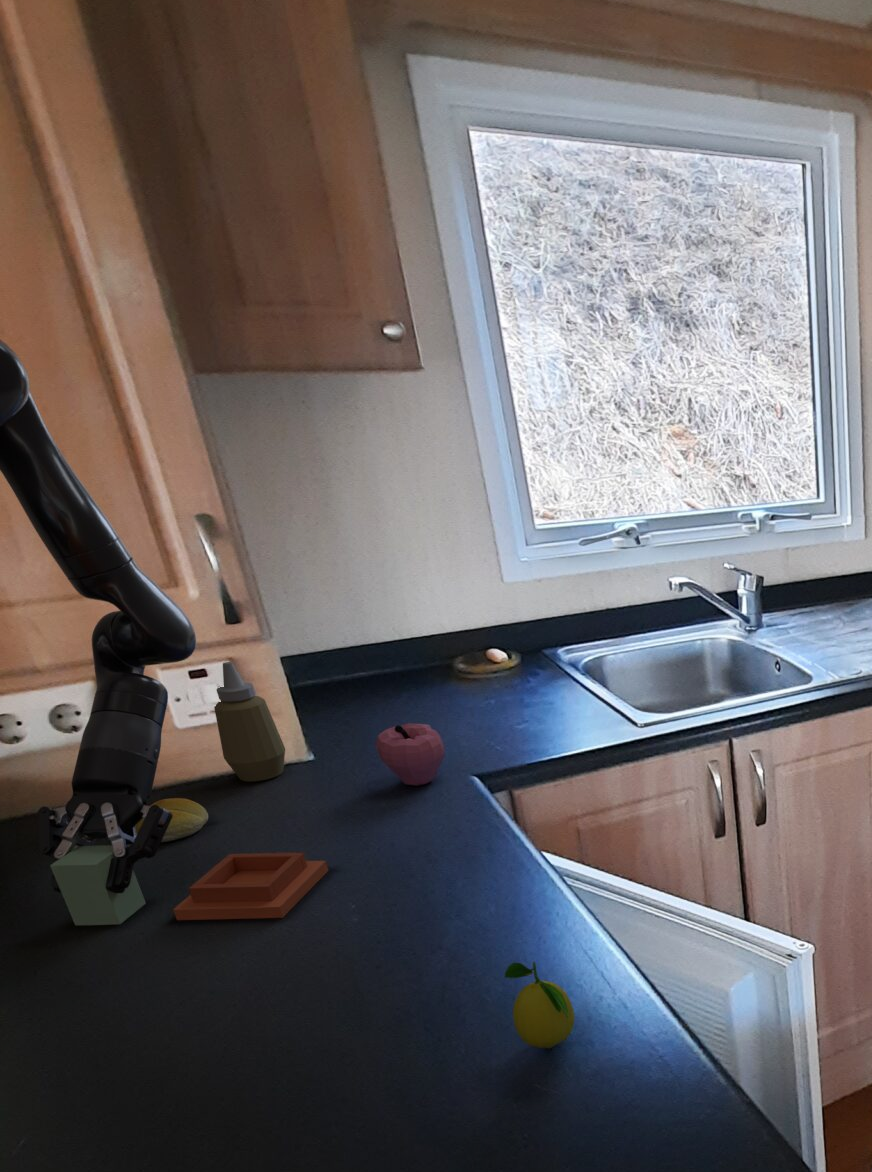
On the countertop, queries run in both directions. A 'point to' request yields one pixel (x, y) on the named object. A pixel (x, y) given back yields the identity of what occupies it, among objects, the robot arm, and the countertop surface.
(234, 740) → the squeeze bottle
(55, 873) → the sage pad block
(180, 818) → the bread roll
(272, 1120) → the countertop surface
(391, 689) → the countertop surface
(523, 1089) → the countertop surface
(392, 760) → the apple
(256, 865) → the base pad
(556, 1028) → the lemon
